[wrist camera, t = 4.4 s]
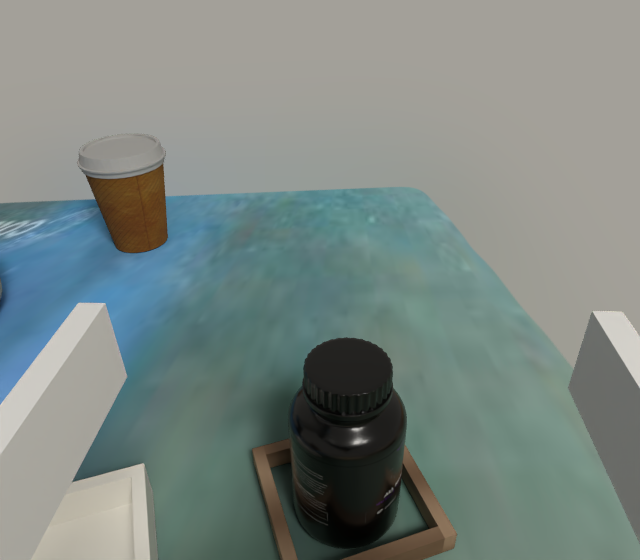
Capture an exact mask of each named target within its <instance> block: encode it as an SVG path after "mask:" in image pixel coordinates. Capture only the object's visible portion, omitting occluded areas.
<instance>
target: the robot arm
mask: <svg viewBox="0 0 640 560" xmlns="http://www.w3.org/2000/svg"><path fill="white" fill-rule="evenodd" d="M126 378H127V374H126V371H125V368H124V364H123V361H122V358H121V354H120V351H119V348H118V344H117V341H116V338H115V334H114V331H113V328H112V324H111V321H110V318H109V314H108V311H107V308H106V304H105V303H78V304H77V305H76V307H75V308H74V309H73V311H72V312H71V313H70V315H69V316H68V317H67V319H66V320H65V321H64V322H63V324H62V325H61V326H60V328H59V329H58V330H57V332H56V333H55V334H54V336H53V337H52V338H51V339H50V341H49V342H48V343H47V345H46V346H45V347H44V349H43V350H42V351H41V353H40V354H39V355H38V356H37V358H36V359H35V360H34V362H33V363H32V364H31V366H30V367H29V368H28V370H27V371H26V372H25V373H24V375H23V376H22V377H21V379H20V380H19V381H18V383H17V384H16V385H15V387H14V388H13V389H12V390H11V392H10V393H9V394H8V396H7V397H6V398H5V400H4V401H3V402H2V404H1V405H0V560H31V558H32V556H33V555H34V553H35V551H36V549H37V547H38V545H39V543H40V541H41V539H42V538H43V536H44V534H45V532H46V530H47V528H48V526H49V524H50V522H51V520H52V519H53V517H54V515H55V513H56V511H57V509H58V507H59V505H60V503H61V501H62V500H63V498H64V496H65V494H66V492H67V490H68V488H69V486H70V484H71V482H72V481H73V479H74V477H75V475H76V473H77V471H78V469H79V467H80V465H81V463H82V462H83V460H84V458H85V456H86V454H87V452H88V450H89V448H90V446H91V444H92V443H93V441H94V439H95V437H96V435H97V433H98V431H99V429H100V427H101V425H102V424H103V422H104V420H105V418H106V416H107V414H108V412H109V410H110V408H111V406H112V405H113V403H114V401H115V399H116V397H117V395H118V393H119V391H120V389H121V387H122V386H123V384H124V382H125V380H126ZM568 389H569V391H570V393H571V395H572V397H573V400H574V402H575V404H576V406H577V408H578V411H579V413H580V415H581V417H582V419H583V421H584V424H585V426H586V428H587V430H588V432H589V434H590V437H591V439H592V441H593V443H594V445H595V447H596V450H597V452H598V454H599V456H600V458H601V461H602V463H603V465H604V467H605V469H606V471H607V474H608V476H609V478H610V480H611V482H612V484H613V487H614V489H615V491H616V493H617V495H618V497H619V500H620V502H621V504H622V506H623V508H624V510H625V513H626V515H627V517H628V519H629V521H630V524H631V526H632V528H633V530H634V532H635V534H636V537H637V539H638V541H639V543H640V336H639V335H638V333H637V332H636V330H635V329H634V327H633V326H632V325H631V323H630V322H629V320H628V319H627V317H625V315H624V313H623V312H615V311H614V312H613V311H592V313H591V316H590V320H589V323H588V326H587V329H586V332H585V335H584V339H583V342H582V345H581V348H580V351H579V355H578V358H577V361H576V364H575V367H574V371H573V374H572V377H571V380H570V383H569V387H568Z"/></svg>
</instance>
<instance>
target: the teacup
mask: <svg viewBox="0 0 640 560" xmlns="http://www.w3.org/2000/svg"><path fill="white" fill-rule="evenodd" d="M1 296H2V284H1V280H0V300H1Z"/></svg>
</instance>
